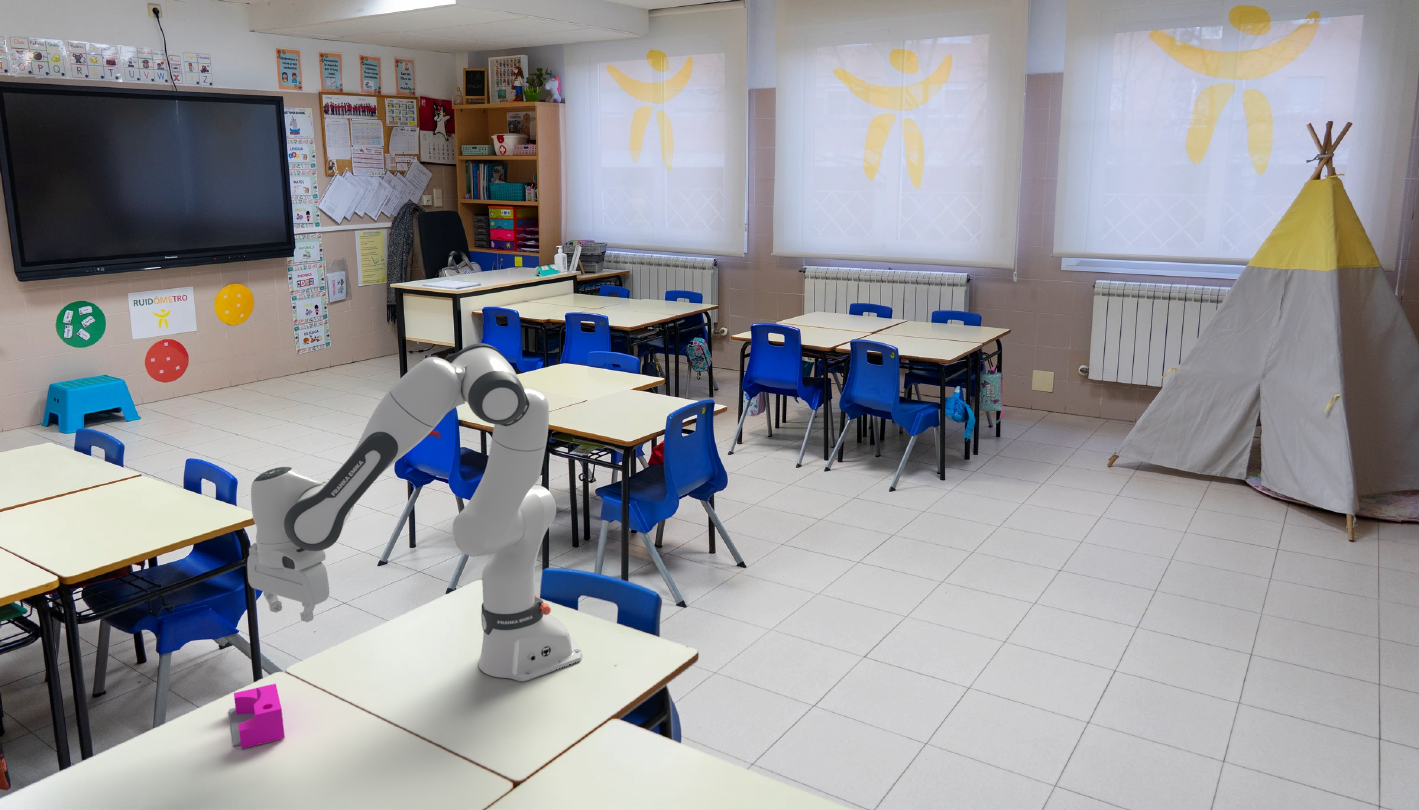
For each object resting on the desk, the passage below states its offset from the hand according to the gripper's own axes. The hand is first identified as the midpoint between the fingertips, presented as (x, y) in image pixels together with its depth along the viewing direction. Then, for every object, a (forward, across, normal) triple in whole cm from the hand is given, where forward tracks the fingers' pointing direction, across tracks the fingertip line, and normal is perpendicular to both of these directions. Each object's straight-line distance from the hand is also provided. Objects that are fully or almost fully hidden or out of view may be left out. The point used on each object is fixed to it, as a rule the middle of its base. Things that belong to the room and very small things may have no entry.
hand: (291, 615), depth 192 cm
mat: (+20, -3, -9) cm, 22 cm away
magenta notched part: (+16, 0, -5) cm, 17 cm away
